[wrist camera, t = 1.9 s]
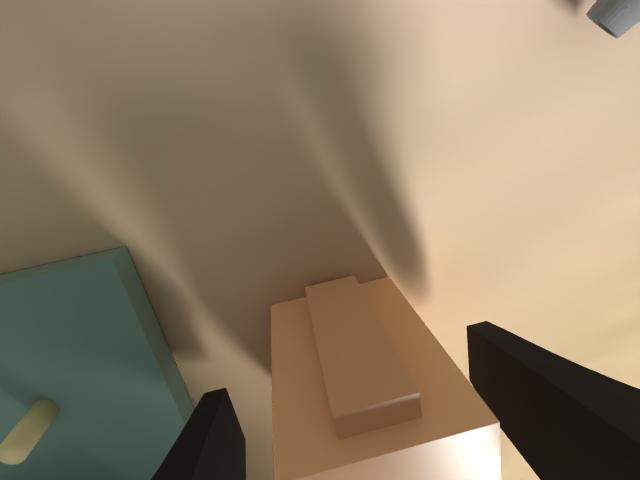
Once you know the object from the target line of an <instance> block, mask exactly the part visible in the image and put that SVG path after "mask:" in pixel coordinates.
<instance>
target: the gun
mask: <svg viewBox="0 0 640 480" xmlns="http://www.w3.org/2000/svg"><path fill="white" fill-rule="evenodd" d="M586 15H587V16H588V17H589V18H590V19H591V20H592V21H593V22H594V23H595V24H596V25H598V26H599V27H600V28H602V29H603V30H604V31H606V32H607V33H609V34H610V35H612V36H614V37H615V38H619V37H620V36H621V35H622V34H624V33H625V32H626V31H627V30H629V29H630V28H631V27H632V26H634V25H635V24H636V23H637V22H639V21H640V0H597V1H596V2H595V4H594V5H593V6H592V8H591V9H590V10H589V11H588V13H587V14H586Z"/></svg>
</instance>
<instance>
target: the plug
mask: <svg viewBox="0 0 640 480" xmlns="http://www.w3.org/2000/svg"><path fill="white" fill-rule="evenodd" d="M304 288H305V293H306V297H303V298H298V299H294V300H290V301H286V302H282V303H278V304H274V305H271V352H272V407H273V462H274V480H501V459H500V422H499V421H498V419H497V418H496V417H495V415H494V414H493V413H492V411H491V410H490V409H489V407H488V406H487V405H486V403H485V402H484V401H483V400H482V398H481V397H480V396H479V394H478V393H477V392H476V390H475V389H474V388H473V386H472V385H471V384H470V382H469V381H468V380H467V379H466V377H465V376H464V375H463V373H462V372H461V371H460V369H459V368H458V367H457V365H456V364H455V363H454V362H453V360H452V359H451V358H450V356H449V355H448V354H447V352H446V351H445V350H444V348H443V347H442V346H441V344H440V343H439V342H438V341H437V339H436V338H435V337H434V335H433V334H432V333H431V331H430V330H429V329H428V327H427V326H426V325H425V323H424V322H423V321H422V320H421V318H420V317H419V316H418V314H417V313H416V312H415V310H414V309H413V308H412V306H411V305H410V304H409V302H408V301H407V300H406V299H405V297H404V296H403V295H402V293H401V292H400V291H399V289H398V288H397V287H396V285H395V284H394V283H393V281H392V280H391V279H390V278H389V277H385V278H381V279H377V280H373V281H368V282H364V283H360V284H359V283H358V281H357V279H356V277H355V275H353V276H348V277H344V278H340V279H336V280H332V281H328V282H324V283H320V284H315V285H311V286H307V287H304Z"/></svg>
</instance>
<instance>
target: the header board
mask: <svg viewBox="0 0 640 480" xmlns="http://www.w3.org/2000/svg"><path fill="white" fill-rule="evenodd" d="M194 410H195V408H194V406H193V404H192V401H191V399H190V397H189V394H188V392H187V389H186V387H185V385H184V382H183V380H182V377H181V375H180V373H179V370H178V368H177V366H176V363H175V361H174V358H173V356H172V354H171V351H170V349H169V347H168V344H167V342H166V339H165V337H164V335H163V332H162V330H161V328H160V325H159V323H158V320H157V318H156V316H155V313H154V311H153V309H152V306H151V304H150V301H149V299H148V297H147V294H146V292H145V290H144V287H143V285H142V282H141V280H140V278H139V275H138V273H137V271H136V268H135V266H134V263H133V261H132V259H131V256H130V254H129V252H128V249H127V247H126V246H125V247H120V248H116V249H111V250H107V251H103V252H98V253H94V254H89V255H85V256H80V257H76V258H72V259H67V260H63V261H58V262H54V263H49V264H45V265H41V266H36V267H32V268H27V269H23V270H18V271H14V272H10V273H5V274H1V275H0V480H151V479H152V477H153V476H154V474H155V473H156V471H157V470H158V468H159V467H160V465H161V463H162V462H163V460H164V459H165V457H166V455H167V454H168V452H169V451H170V449H171V448H172V446H173V444H174V443H175V441H176V440H177V438H178V436H179V435H180V433H181V431H182V430H183V428H184V426H185V425H186V423H187V421H188V420H189V418H190V416H191V415H192V413H193V411H194Z"/></svg>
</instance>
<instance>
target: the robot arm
mask: <svg viewBox="0 0 640 480" xmlns="http://www.w3.org/2000/svg"><path fill="white" fill-rule="evenodd" d="M467 340H468V359H469V378H470V382H471V383H472V385H473V387H474V388H475V390H476V392H477V393H478V394H479V396H480V397H481V398H482V400H483V401H484V402H485V403H486V405H487V406H488V407H489V409H490V410H491V411H492V413H493V414H494V415H495V417H496V418H497V419H498V421H499V422H500V428H501V429H502V430H503V432H504V433H505V434H506V436H507V437H508V438H509V439H510V441H511V442H512V443H513V445H514V446H515V447H516V449H517V450H518V451H519V452H520V454H521V455H522V456H523V458H524V459H525V460H526V461H527V463H528V464H529V465H530V467H531V468H532V469H533V471H534V472H535V473H536V474H537V476H538V477H539V478H540V480H640V389H638V388H635V387H632V386H630V385H627V384H624V383H622V382H619V381H617V380H614V379H612V378H609V377H607V376H605V375H602V374H600V373H597V372H595V371H593V370H590V369H588V368H585V367H583V366H581V365H579V364H576V363H574V362H572V361H570V360H567V359H565V358H563V357H561V356H559V355H556V354H554V353H552V352H550V351H548V350H546V349H544V348H542V347H540V346H537V345H535V344H533V343H531V342H529V341H527V340H525V339H523V338H521V337H519V336H517V335H515V334H513V333H511V332H509V331H507V330H505V329H502V328H500V327H498V326H496V325H494V324H492V323H490V322H487V321H485V322H481V323H477V324H473V325H469V326H467ZM151 480H246V451H245V438H244V435H243V432H242V430H241V427H240V424H239V422H238V419H237V416H236V413H235V411H234V408H233V405H232V403H231V400H230V397H229V395H228V392H227V389H226V388H223V389H219V390H215V391H211V392H207V393H205V394H204V395H203V397H202V398H201V400H200V401H199V403H198V405H197V406H196V408H195V410H194V411H193V413H192V415H191V416H190V418H189V420H188V421H187V423H186V425H185V426H184V428H183V430H182V431H181V433H180V435H179V436H178V438H177V440H176V441H175V443H174V444H173V446H172V448H171V449H170V451H169V452H168V454H167V455H166V457H165V459H164V460H163V462H162V463H161V465H160V467H159V468H158V470H157V471H156V473H155V474H154V476H153V477H152V479H151Z"/></svg>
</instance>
